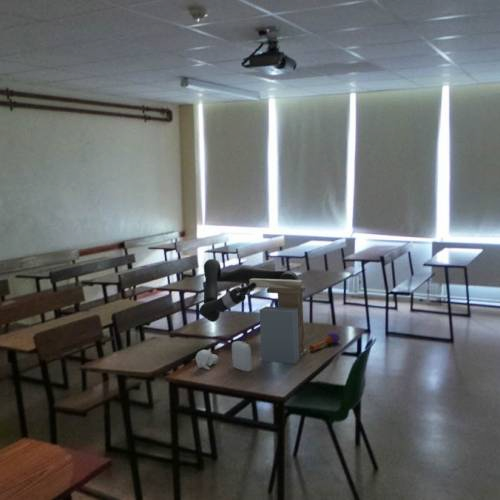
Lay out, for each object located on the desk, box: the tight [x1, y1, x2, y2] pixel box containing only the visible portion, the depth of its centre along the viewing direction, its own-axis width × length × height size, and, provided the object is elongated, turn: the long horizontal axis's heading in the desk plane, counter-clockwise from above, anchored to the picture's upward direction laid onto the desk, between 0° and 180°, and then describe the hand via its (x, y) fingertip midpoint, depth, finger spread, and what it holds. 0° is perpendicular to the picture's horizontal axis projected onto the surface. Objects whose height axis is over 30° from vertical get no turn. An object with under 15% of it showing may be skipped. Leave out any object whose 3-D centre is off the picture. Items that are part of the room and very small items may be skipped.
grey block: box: [259, 306, 301, 365], centre depth 256 cm, size 7×16×24 cm, turn 65°
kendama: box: [308, 331, 341, 352], centre depth 275 cm, size 6×6×20 cm
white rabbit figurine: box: [194, 349, 219, 371], centre depth 253 cm, size 6×8×12 cm
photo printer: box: [231, 340, 253, 372], centre depth 248 cm, size 10×4×12 cm, turn 39°
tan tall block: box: [266, 286, 308, 359], centre depth 265 cm, size 8×16×32 cm, turn 65°
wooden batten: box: [249, 278, 304, 289], centre depth 265 cm, size 4×26×4 cm, turn 65°
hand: (258, 282), depth 268 cm, fingers open, 8 cm apart
